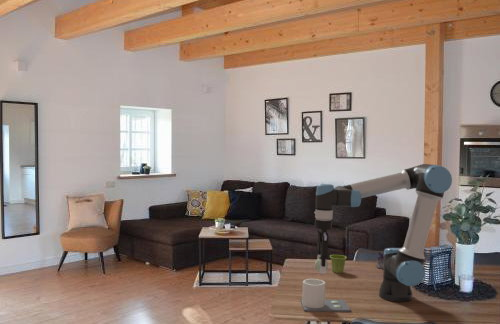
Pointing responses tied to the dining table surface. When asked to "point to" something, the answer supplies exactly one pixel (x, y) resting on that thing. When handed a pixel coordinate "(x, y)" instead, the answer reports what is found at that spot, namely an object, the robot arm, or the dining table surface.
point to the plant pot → (338, 263)
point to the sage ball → (317, 265)
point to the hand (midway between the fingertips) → (321, 271)
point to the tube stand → (320, 298)
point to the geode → (380, 261)
